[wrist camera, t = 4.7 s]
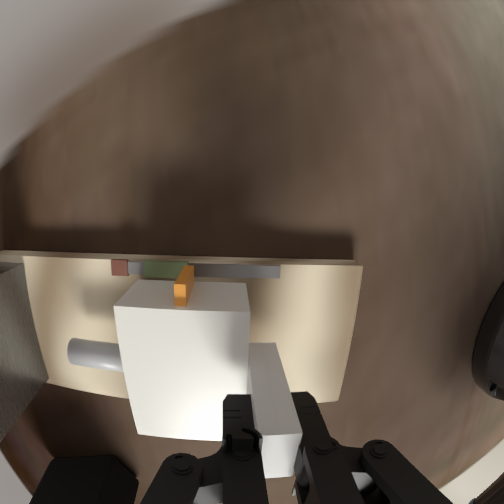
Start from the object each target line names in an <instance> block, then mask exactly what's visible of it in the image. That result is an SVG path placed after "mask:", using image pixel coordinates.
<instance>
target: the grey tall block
mask: <svg viewBox="0 0 504 504" xmlns="http://www.w3.org/2000/svg"><path fill="white" fill-rule="evenodd" d="M48 380H49V376H48V373H47V370H46V366H45V363H44V360H43V356H42V352H41V349H40V345H39V341H38V337H37V333H36V329H35V324H34V320H33V315H32V310H31V305H30V300H29V294H28V288H27V281H26V274H25V267H24V263H11V262H0V442H1V441H2V439H3V438H4V437H5V435H6V434H7V432H8V431H9V430H10V428H11V427H12V426H13V424H14V423H15V422H16V420H17V419H18V418H19V416H20V415H21V414H22V412H23V411H24V410H25V408H26V407H27V406H28V405H29V403H30V402H31V401H32V399H33V398H34V397H35V396H36V394H37V393H38V392H39V391H40V389H41V388H42V387H43V386H44V384H45V383H46V382H47V381H48Z"/></svg>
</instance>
